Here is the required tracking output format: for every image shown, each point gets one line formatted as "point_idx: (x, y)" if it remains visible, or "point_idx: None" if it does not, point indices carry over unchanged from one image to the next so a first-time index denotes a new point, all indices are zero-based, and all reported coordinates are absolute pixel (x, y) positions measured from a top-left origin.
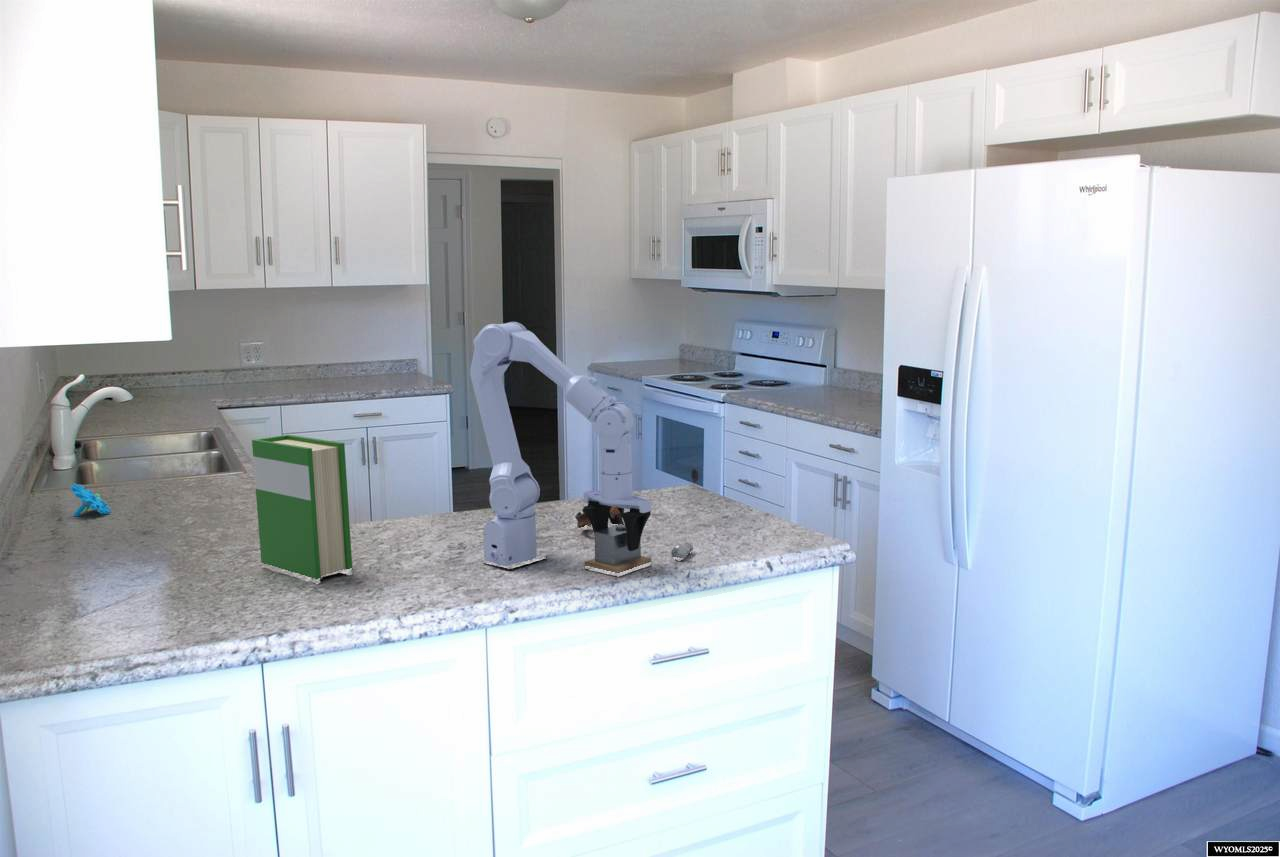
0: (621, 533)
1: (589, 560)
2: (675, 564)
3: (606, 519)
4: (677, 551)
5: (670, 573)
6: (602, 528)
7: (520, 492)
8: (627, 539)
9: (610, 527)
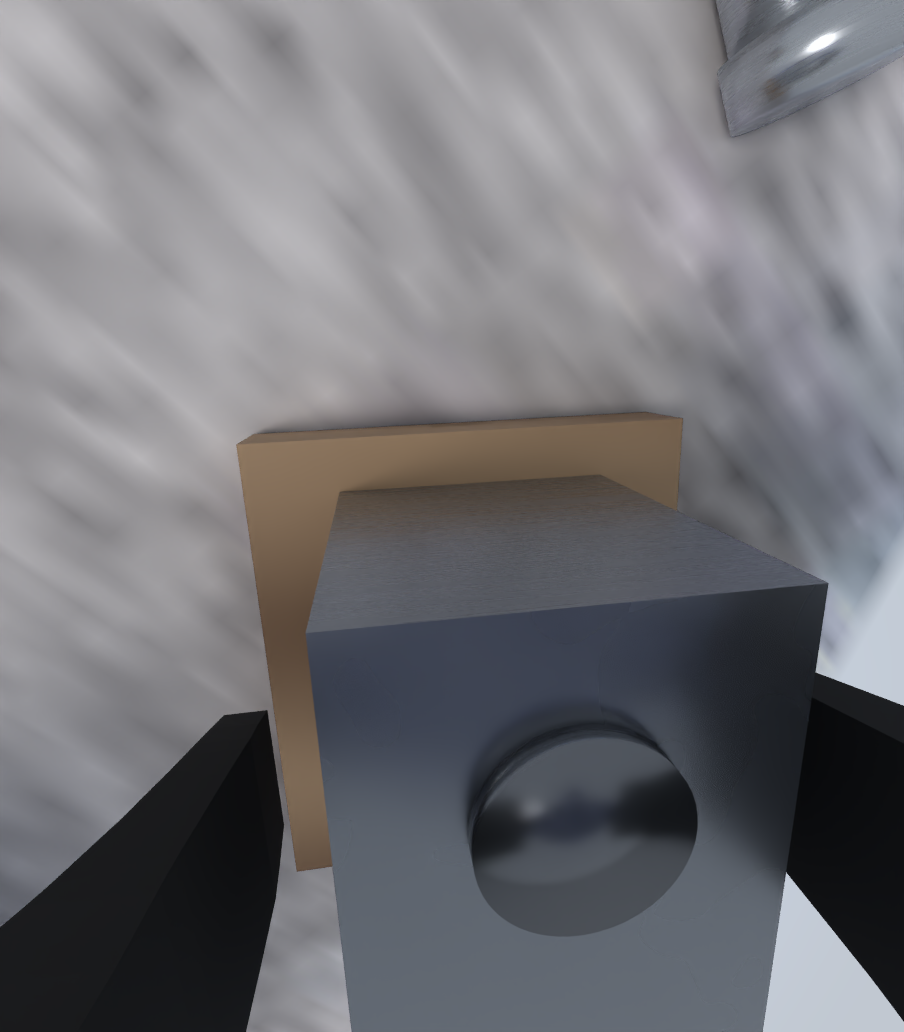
0: (762, 980)
1: (303, 830)
2: (786, 227)
3: (131, 1020)
4: (831, 80)
5: (874, 459)
6: (216, 947)
7: None
8: (821, 900)
9: (351, 901)
